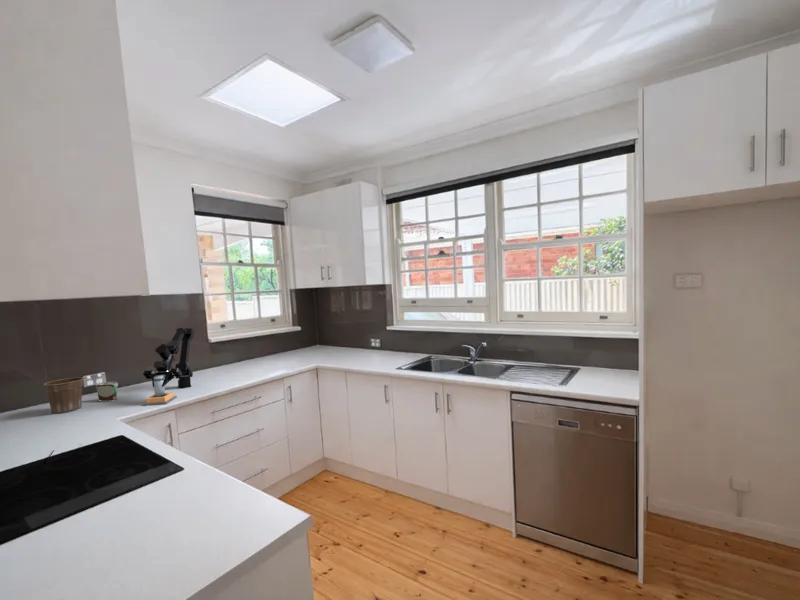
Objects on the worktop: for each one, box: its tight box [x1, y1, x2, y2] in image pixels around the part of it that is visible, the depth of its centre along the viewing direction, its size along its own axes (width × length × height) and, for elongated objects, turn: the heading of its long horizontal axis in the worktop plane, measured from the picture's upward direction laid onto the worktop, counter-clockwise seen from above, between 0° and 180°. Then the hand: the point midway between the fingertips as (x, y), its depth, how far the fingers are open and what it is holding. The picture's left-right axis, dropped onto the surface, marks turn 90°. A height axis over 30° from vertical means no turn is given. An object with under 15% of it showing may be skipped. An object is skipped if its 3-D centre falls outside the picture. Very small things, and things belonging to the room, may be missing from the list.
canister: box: [153, 375, 166, 397], centre depth 207 cm, size 5×5×12 cm
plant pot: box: [43, 376, 85, 414], centre depth 199 cm, size 16×16×16 cm
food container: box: [95, 381, 119, 402], centre depth 217 cm, size 12×6×10 cm, turn 84°
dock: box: [142, 392, 178, 407], centre depth 207 cm, size 12×12×4 cm
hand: (158, 386), depth 206 cm, fingers closed on canister, 5 cm apart
